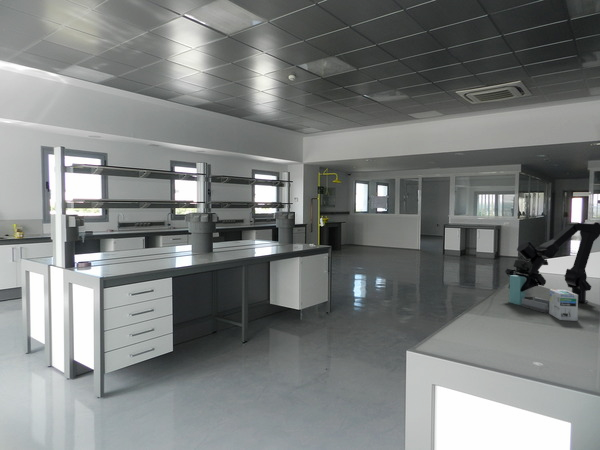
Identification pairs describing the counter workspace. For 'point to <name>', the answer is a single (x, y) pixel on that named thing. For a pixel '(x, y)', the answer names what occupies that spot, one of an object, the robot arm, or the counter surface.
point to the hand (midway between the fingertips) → (514, 289)
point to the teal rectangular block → (516, 289)
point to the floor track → (536, 304)
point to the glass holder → (529, 291)
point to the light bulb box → (563, 305)
